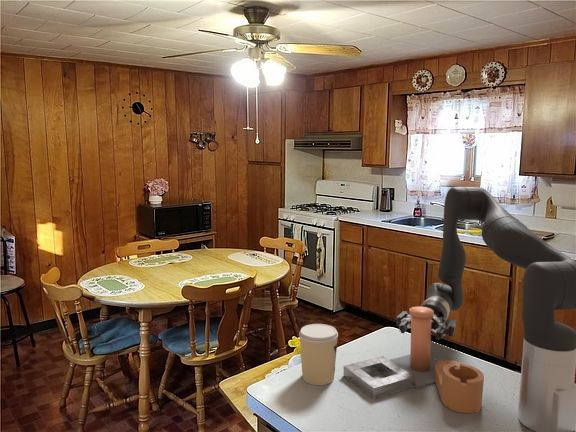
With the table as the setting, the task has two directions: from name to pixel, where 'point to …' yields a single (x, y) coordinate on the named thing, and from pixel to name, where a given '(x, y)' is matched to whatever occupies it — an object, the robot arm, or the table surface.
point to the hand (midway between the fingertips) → (419, 332)
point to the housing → (384, 386)
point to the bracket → (459, 386)
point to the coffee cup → (318, 353)
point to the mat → (420, 377)
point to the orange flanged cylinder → (420, 338)
